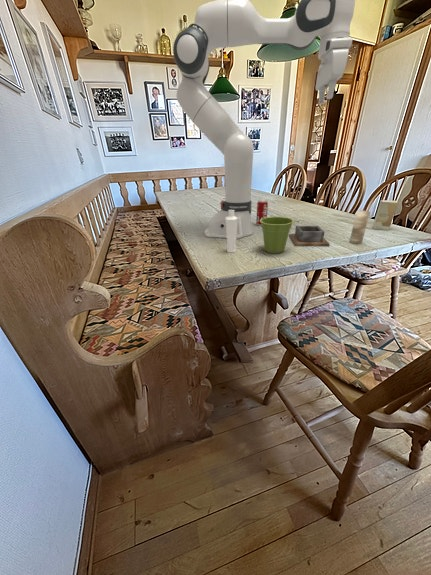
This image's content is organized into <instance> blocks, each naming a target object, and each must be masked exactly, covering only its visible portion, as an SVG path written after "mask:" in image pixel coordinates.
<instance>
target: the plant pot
mask: <svg viewBox="0 0 431 575" xmlns="http://www.w3.org/2000/svg"><path fill="white" fill-rule="evenodd" d="M260 222H261V224H262V226H261V229H262V235H263V236H262V237H263V244H264V245H263V246H264V251H265V252H268V253H271V254H280V253H281V252H282V253H283V252H284V251H285V249H286V246H287V242H288V238H289V234H290V230H291V228H292V225H293V224H294V222H295V220H294V219H293V218H290V217H285V216H267V218H263V219H261V220H260Z"/></svg>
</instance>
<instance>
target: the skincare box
mask: <svg viewBox="0 0 431 575" xmlns="http://www.w3.org/2000/svg"><path fill="white" fill-rule="evenodd" d="M398 205H399V202H398V201H397V200H386V199H385V200H384V199H380V201H379V205H378V208H377V211H376V214H375V218H374V220H373V225H372V228H373V229H374V230H381V231H382V230H384V231H389V230H390V229H391V228H390V227H391V224H392V223H393V219H394V216H395V213H396V212H397V211H396V210H397V207H398Z"/></svg>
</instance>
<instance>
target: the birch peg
mask: <svg viewBox="0 0 431 575" xmlns="http://www.w3.org/2000/svg"><path fill="white" fill-rule="evenodd" d="M370 214H371V212H370V211H369V210H357V211H356V213H355V216H354V221H353V225H352V229H351V234H350V238H349V244H353V245H361V244H363V240H364V236H365V234H366V229H367V225H368V222H369V217H370Z"/></svg>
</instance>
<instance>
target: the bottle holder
mask: <svg viewBox="0 0 431 575" xmlns="http://www.w3.org/2000/svg"><path fill="white" fill-rule="evenodd" d="M288 238H289V239H290V241H291V242H292V244H293V246H294V247H330V242H329V241H328V240H327V239H326V238H325V231H324V230H323V229H322V227H320V226H319V225H296V226H295V231H294V233H289V234H288Z"/></svg>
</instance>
